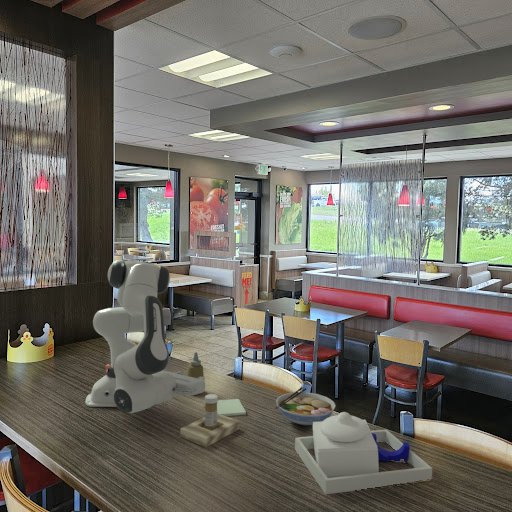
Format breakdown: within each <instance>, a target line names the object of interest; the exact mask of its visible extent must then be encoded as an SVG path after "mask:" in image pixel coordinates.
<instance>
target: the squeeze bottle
mask: <svg viewBox="0 0 512 512" xmlns="http://www.w3.org/2000/svg"><path fill="white" fill-rule="evenodd" d="M186 376H189V377H193V378H198V377H200V376H201V377H204V378H205V376H204V367H203V365H202V361H201V359H199V356H198V351H195V352H194V355H193V356H192V359H191V360H190V363H189V365H188V366H187V374H186ZM198 395H201V393H199V394H198Z"/></svg>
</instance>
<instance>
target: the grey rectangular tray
mask: <svg viewBox="0 0 512 512" xmlns="http://www.w3.org/2000/svg"><path fill="white" fill-rule="evenodd" d="M370 431H371V433H373V434H376V437H377V439H376V441H377V442H381V443H385V442H386V443H387V444H389V445H390V446H391V447H392V448H393V449H395V450H398V449H400V448H401V447H402V445H403V443H404V442H402V441H400V439H398V438H397V437H396V436H395V435H394V434H392V433H391V432H390V431H389V430H388V429H379V430H378V429H377V430H370ZM384 441H385V442H384ZM386 443H385V444H386ZM387 444H386V445H387ZM389 445H388V446H389ZM390 446H389V447H390ZM391 447H390V448H391ZM392 448H391V449H392ZM308 449H309V450H314V441H313V435H311V436H310V435H309V436H300V437H295V440H294V450H295V451H296V453H297V454H299V455H298V456H299V457H300V459H301V460H302V462H303V463H304V465H305V467H306V468H307V470H308V471H309V472H310V474H311V476H313V478H314V480H315V481H316V483H317V484H318V485H319V487H320V489H321V490H322V491H323V493H324V494H325V495H331V494H340V493H347V492H355V490H357V491H362V490H361V489H365V490H368V489H367V488H373V489H376V488H375V487H381V486H387V485H393V484H400V483H407V482H412V481H419V480H427V479H432V480H433V467H432V466H431V465H429V464H428V463H427V462H426V461H425V460H423V459H422V458H421V457H420V456H418V455H417V454H416V453H415V452H414V451H412V449H410V450H409V454H408V458H407V461H409V462H410V463H411V464H412V465H413V466H414V467H415V468H413V467H412V468H407V469H406V468H405V469H404V468H403V469H398V470H397V469H396V470H389V471H380V472H378V473H369V474H360V475H352V476H343V477H334V478H327V476H326V475H325V474H324V472H323V471H322V469H321V468H320V467H319V465H318V464H317V462H316V459H314V457H313V456H312V455H311V453H310V452H309V450H308ZM393 449H392V450H393ZM381 488H382V487H381Z"/></svg>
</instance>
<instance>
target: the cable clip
mask: <svg viewBox="0 0 512 512" xmlns="http://www.w3.org/2000/svg"><path fill="white" fill-rule="evenodd" d="M372 436H373V438H374V440H375V442H376V444H377V448H378V461H382V462H386V463H387V462H388V461H389V460H394V461H400V459H404V461H405V462H406V463H408V462H407V458H408V454H409V450H411V449H410V448H411V446H410V443H409V442H405V441H403V442H402V443H403V445H402V447H401V448H400V449H398V450H396V451H394V450H392V451H390V450H385V449H384V448H382V447H381V446H380V445H379V443H377V441H376V439H377V437H376V434H373V433H372Z"/></svg>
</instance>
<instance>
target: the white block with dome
mask: <svg viewBox="0 0 512 512" xmlns="http://www.w3.org/2000/svg"><path fill="white" fill-rule="evenodd" d="M371 431H372V430H371V429H370V427H369V425H368V423H367V420H366V419H362V418H360V417H357V416H354V415H351V414H350V413H348V412H346V411H342V412H340V413H338V414H337V415H330V417H329V418H326V419H325V420H324V421H322V422H313V425H312V436H313V441H314V449H313V450H314V457H315V461H316V463H317V464H318V465H319V467H320V468H321V469H322V471H323V472H324V474H325V475H326V476H327V478H334V477H343V476H352V475H360V474H369V473H378V472H379V471H380V469H379V460H378V448H377V444H378V443H377V444H376V442H375V440H374V438H373V436H372V433H371Z"/></svg>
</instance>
